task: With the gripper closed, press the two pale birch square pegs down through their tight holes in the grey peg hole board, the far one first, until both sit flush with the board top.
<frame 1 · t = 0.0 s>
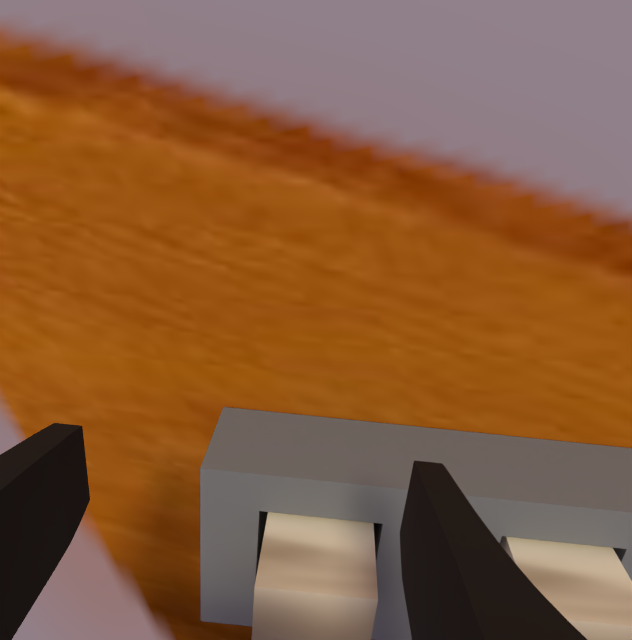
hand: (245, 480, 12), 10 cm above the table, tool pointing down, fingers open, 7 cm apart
grey peg hole board: (418, 501, 25), on the table
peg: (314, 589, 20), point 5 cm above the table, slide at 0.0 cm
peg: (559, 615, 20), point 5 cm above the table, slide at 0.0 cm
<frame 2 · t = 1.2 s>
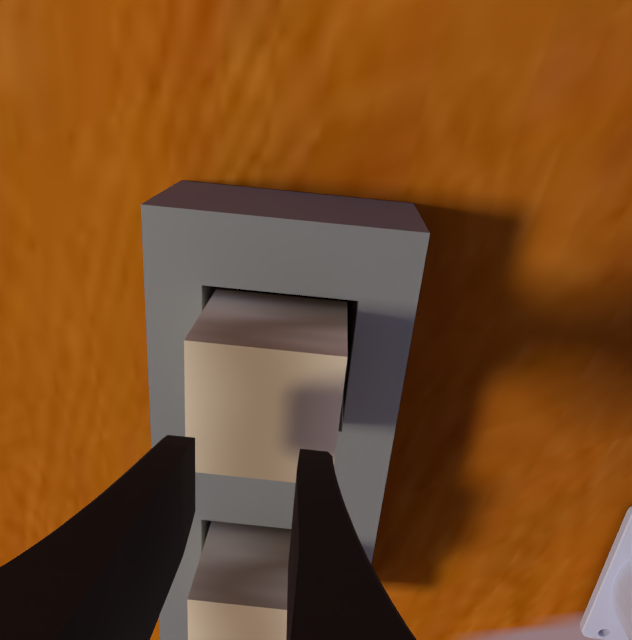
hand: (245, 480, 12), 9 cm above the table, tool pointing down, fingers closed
grey peg hole board: (281, 412, 22), on the table
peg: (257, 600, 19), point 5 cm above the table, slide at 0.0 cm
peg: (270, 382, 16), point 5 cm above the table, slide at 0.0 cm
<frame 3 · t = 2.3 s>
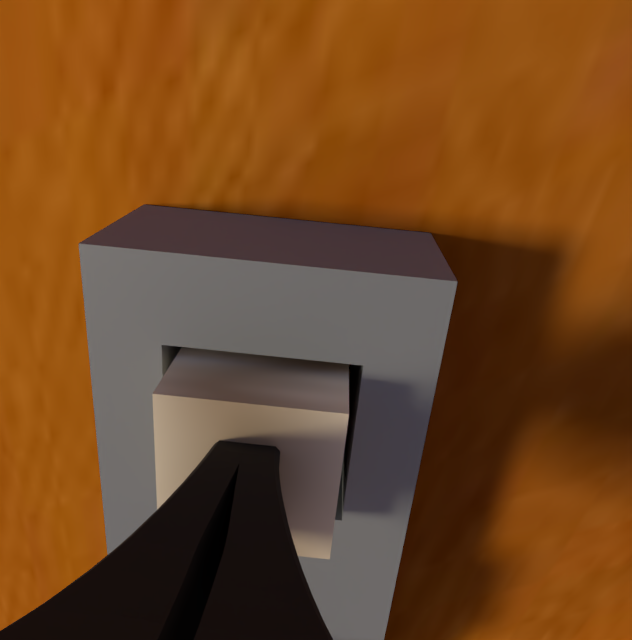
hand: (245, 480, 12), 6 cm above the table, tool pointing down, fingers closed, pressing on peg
grey peg hole board: (269, 476, 19), on the table
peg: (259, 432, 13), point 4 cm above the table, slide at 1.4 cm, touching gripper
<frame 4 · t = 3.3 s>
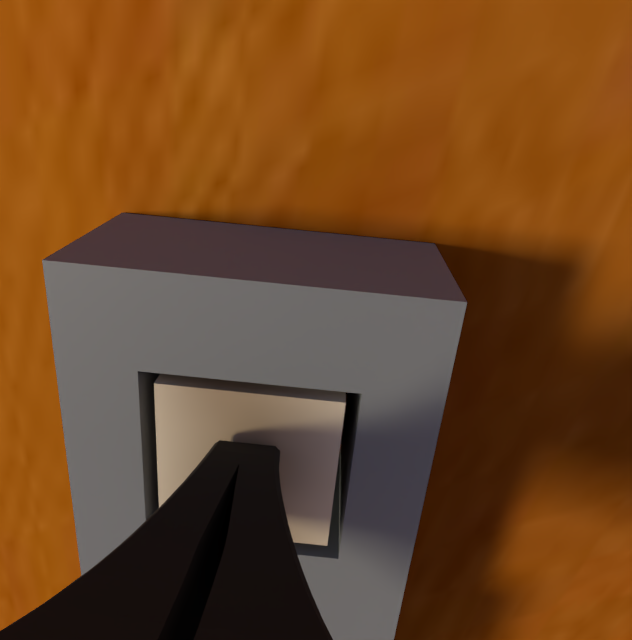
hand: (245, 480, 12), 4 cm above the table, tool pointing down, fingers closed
grey peg hole board: (261, 501, 17), on the table
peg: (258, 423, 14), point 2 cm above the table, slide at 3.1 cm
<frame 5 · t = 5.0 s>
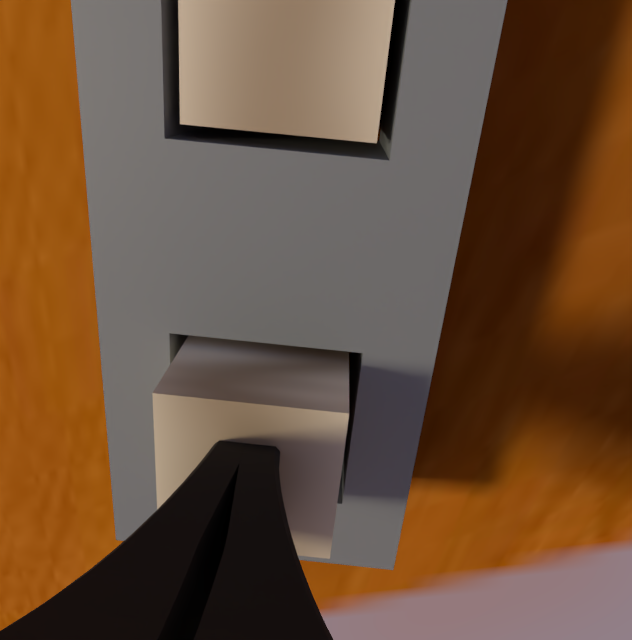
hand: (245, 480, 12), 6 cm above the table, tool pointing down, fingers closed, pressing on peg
grey peg hole board: (289, 213, 16), on the table
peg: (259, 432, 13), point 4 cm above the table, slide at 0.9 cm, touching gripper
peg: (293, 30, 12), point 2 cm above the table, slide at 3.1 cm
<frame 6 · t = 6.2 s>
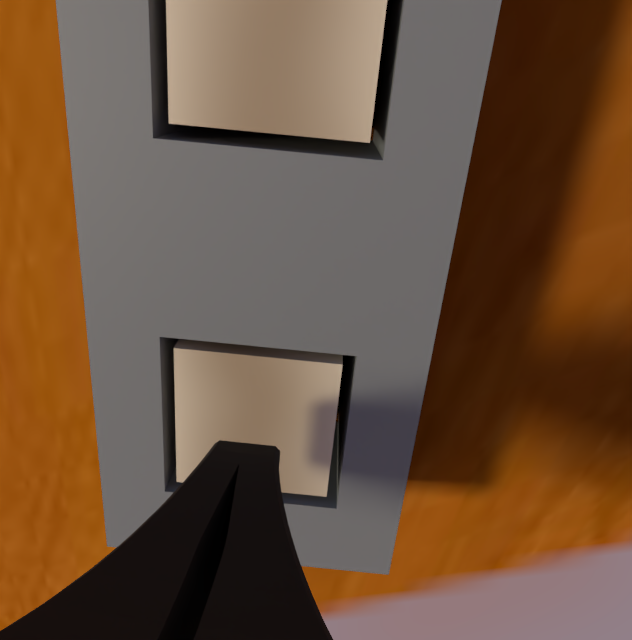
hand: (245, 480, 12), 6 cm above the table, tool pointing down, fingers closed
grey peg hole board: (281, 213, 15), on the table
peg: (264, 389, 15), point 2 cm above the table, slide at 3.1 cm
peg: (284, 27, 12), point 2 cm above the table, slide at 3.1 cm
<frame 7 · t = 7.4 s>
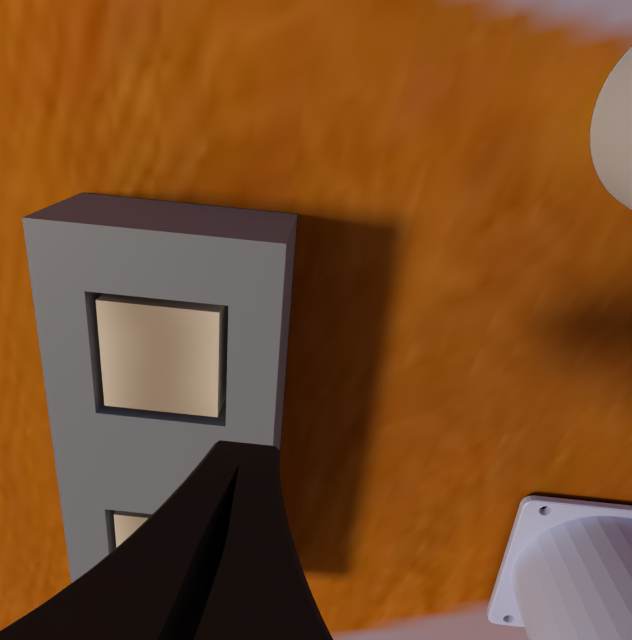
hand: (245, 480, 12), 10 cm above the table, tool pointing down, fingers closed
grey peg hole board: (190, 409, 24), on the table
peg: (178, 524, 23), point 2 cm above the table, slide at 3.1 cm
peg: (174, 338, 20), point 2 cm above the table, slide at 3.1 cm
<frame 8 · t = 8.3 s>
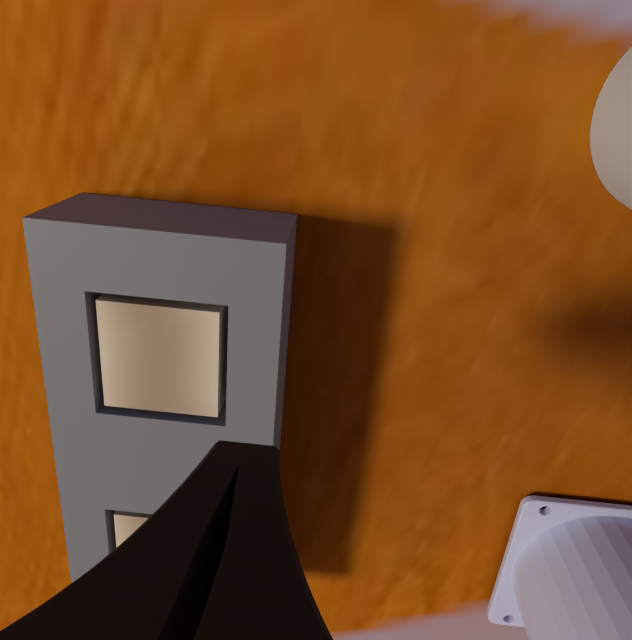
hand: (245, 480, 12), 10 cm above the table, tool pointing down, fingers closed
grey peg hole board: (190, 409, 24), on the table
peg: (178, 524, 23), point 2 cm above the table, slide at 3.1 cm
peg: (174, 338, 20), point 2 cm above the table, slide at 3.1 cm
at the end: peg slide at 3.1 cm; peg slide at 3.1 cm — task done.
